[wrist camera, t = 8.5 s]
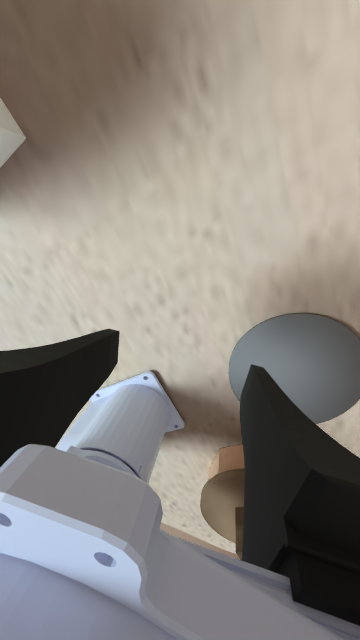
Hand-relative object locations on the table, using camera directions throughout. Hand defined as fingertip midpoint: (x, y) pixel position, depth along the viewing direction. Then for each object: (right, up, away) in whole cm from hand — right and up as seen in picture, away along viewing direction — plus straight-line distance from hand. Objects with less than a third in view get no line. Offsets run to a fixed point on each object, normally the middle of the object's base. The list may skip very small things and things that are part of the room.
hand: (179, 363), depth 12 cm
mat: (+11, -3, +9) cm, 15 cm away
